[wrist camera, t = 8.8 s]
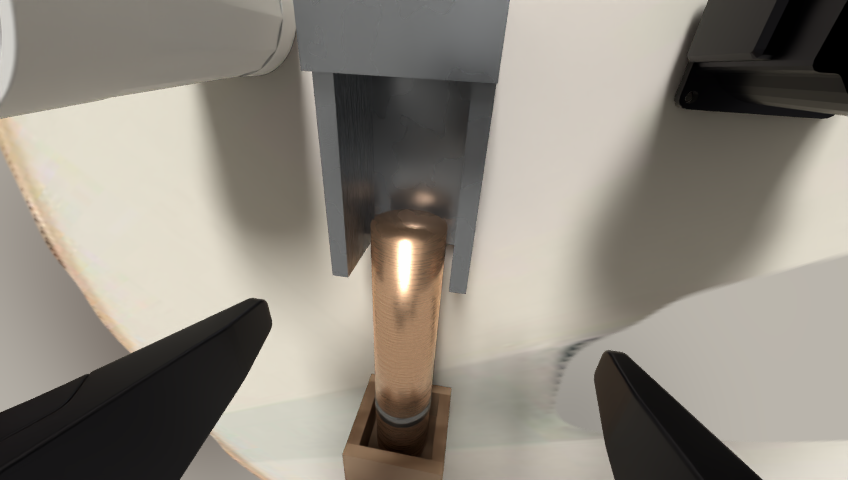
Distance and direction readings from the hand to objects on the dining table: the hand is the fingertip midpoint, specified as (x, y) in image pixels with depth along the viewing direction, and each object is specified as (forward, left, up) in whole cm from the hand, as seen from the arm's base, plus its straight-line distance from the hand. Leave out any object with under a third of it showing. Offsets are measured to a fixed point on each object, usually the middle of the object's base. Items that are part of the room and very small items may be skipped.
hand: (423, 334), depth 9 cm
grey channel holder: (+2, -3, -12) cm, 12 cm away
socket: (+2, +20, -12) cm, 23 cm away
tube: (+2, +11, -11) cm, 15 cm away
